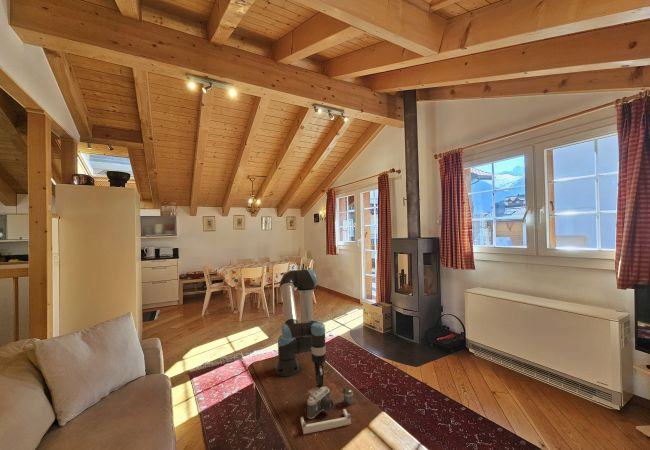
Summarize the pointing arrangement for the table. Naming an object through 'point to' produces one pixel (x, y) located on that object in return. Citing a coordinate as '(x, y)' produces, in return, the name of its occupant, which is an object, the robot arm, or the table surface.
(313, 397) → the camera
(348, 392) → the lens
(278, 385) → the table surface
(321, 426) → the bracket
